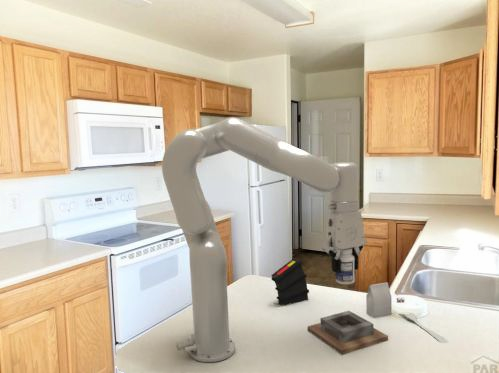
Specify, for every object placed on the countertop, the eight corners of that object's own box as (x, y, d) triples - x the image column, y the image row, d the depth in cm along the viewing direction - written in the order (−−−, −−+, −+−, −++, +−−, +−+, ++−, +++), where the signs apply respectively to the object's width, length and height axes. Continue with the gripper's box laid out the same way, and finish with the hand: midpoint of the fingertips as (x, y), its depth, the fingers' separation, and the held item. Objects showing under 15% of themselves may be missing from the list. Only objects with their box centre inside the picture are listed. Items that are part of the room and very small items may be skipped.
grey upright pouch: (391, 314, 127) (391, 284, 126) (373, 318, 125) (373, 287, 124) (383, 310, 131) (383, 280, 130) (366, 313, 128) (366, 283, 127)
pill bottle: (340, 277, 117) (340, 244, 116) (358, 280, 113) (357, 247, 112) (332, 282, 113) (331, 248, 112) (349, 286, 109) (349, 251, 108)
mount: (342, 354, 104) (341, 339, 104) (307, 330, 118) (307, 316, 118) (388, 339, 111) (388, 325, 110) (350, 318, 125) (350, 305, 125)
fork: (441, 353, 108) (442, 343, 108) (395, 314, 128) (395, 306, 127) (450, 351, 109) (451, 342, 108) (402, 313, 129) (403, 305, 128)
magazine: (316, 293, 143) (300, 259, 138) (288, 316, 138) (271, 281, 134) (310, 290, 146) (294, 257, 142) (282, 312, 141) (265, 278, 137)
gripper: (327, 211, 104) (328, 279, 106) (377, 205, 111) (377, 268, 113) (310, 208, 111) (312, 271, 112) (359, 202, 118) (359, 262, 120)
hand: (345, 269), depth 113 cm, fingers closed on pill bottle, 5 cm apart
